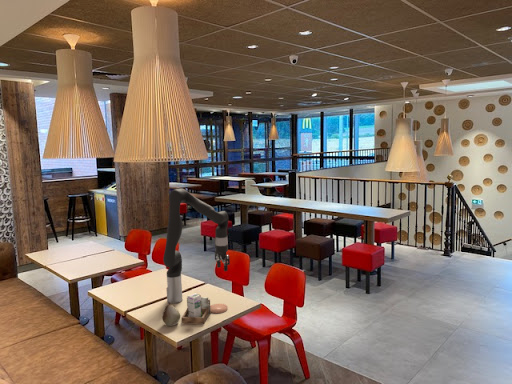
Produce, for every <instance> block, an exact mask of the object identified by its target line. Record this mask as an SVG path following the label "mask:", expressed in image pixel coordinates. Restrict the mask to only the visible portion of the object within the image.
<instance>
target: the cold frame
mask: <svg viewBox="0 0 512 384" xmlns="http://www.w3.org/2000/svg"><path fill="white" fill-rule="evenodd" d="M201 304H202V317H189V311H188V297H187V296H186V306H187V307H186V310H185V311H184V313H183V315H181V317H180V319H181V324H182V325H185V324H186V325H192V324H193V325H204V324H205V323H206V320H207V318H208V316H209V315H211V314H212V313H211V309H210V306H211V299H209V297H208V296H207V297H202V296H201Z"/></svg>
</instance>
